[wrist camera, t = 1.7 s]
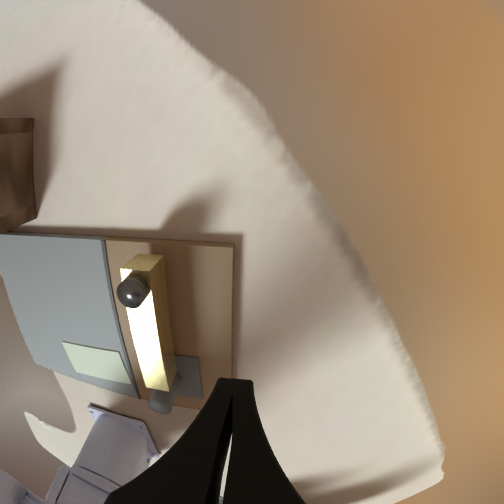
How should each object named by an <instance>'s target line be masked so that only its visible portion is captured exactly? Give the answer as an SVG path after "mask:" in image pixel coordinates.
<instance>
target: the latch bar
mask: <svg viewBox="0 0 504 504" xmlns="http://www.w3.org/2000/svg"><path fill="white" fill-rule="evenodd" d="M120 270H121V277H122V282H121V283H120V284H119V285H118V287H117V290H116V294H117V297H118V299H119V301H120V302H121V303H122V304H123V305H124V306H125V307H127V311H128V316H129V321H130V326H131V330H132V335H133V339H134V344H135V348H136V352H137V356H138V360H139V363H140V367H141V371H142V374H143V378H144V381H145V385H146V387H148V388H152V389H157V390H162V391H168V392H169V391H170V388H171V386H172V383H173V380H174V378H175V375H176V372H177V365H176V358H175V352H174V345H173V338H172V331H171V323H170V315H169V306H168V297H167V287H166V275H165V263H164V255H154V254H141V253H137V254H136V255H135V256H134V257H133V258H132V259H131V260H129V261H128V262H127V263H126V264H125V265H124V266H123V267H122V268H120Z"/></svg>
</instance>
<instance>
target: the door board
mask: <svg viewBox="0 0 504 504" xmlns="http://www.w3.org/2000/svg"><path fill="white" fill-rule="evenodd" d="M137 253H141V254H154V255H164V263H165V275H166V287H167V297H168V306H169V315H170V323H171V331H172V338H173V345H174V352H175V358H176V365H177V372H176V375H175V378H174V380H173V383H172V386H171V388H170V391H169V392H168V391H162V390H157V389H152V388H148V387H146V385H145V381H144V378H143V374H142V371H141V367H140V363H139V360H138V356H137V352H136V348H135V344H134V339H133V335H132V330H131V326H130V321H129V316H128V311H127V307H125V306H124V305H123V304H122V303H121V302H120V301H119V299H118V297H117V294H116V290H117V287H118V285H119V284H120V283H121V282H122V277H121V270H120V268H122V267H123V266H124V265H125V264H126V263H127V262H128V261H129V260H131V259H132V258H133V257H134V256H135V255H136V254H137ZM0 269H1V273H2V277H3V280H4V283H5V287H6V290H7V293H8V297H9V300H10V303H11V306H12V309H13V312H14V314H15V317H16V320H17V323H18V325H19V328H20V330H21V332H22V335H23V337H24V340H25V342H26V345H27V347H28V349H29V351H30V353H31V356H32V357H33V360H34V362H35V363H36V364H38V365H41V366H43V367H45V368H48V369H50V370H53V371H55V372H58V373H60V374H63V375H65V376H68V377H71V378H73V379H76V380H79V381H82V382H85V383H88V384H91V385H94V386H97V387H101V388H104V389H107V390H111V391H114V392H118V393H121V394H125V395H129V396H133V397H137V398H138V399H146V400H149V402H148V405H149V407H150V408H151V409H152V410H154V411H156V412H158V413H161V414H168V413H170V412H171V409H172V406H173V405H175V406H181V407H187V408H194V409H200V410H201V409H202V408H203V406H204V405H205V403H206V401H207V400H208V398H209V396H210V394H211V392H212V391H213V389H214V386H215V384H216V382H217V379H218V378H220V377H221V378H231V379H232V327H233V274H234V244H233V243H217V242H199V241H182V240H164V239H146V238H127V237H107V236H87V235H66V234H44V233H21V232H4V233H2V234H0Z"/></svg>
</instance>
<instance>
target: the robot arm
mask: <svg viewBox="0 0 504 504" xmlns="http://www.w3.org/2000/svg"><path fill="white" fill-rule="evenodd" d="M87 409H88V410H89V412H90V414H91V416H92V417H93V419H94V421H95V424H94V426H93V427H92V429H91V431H90V433H89V435H88V437H87V439H86V441H85V443H84V445H83V447H82V449H81V451H80V453H79V455H78V457H77V459H76V461H75V463H74V465H73V466H72V467H71V469H70V467H69V466H67V465H65V466H60V468H59V470H58V472H57V474H56V476H55V478H54V480H53V482H52V484H51V486H50V489H49V491H48V493H47V495H46V500H45V501H44V500H42V499H41V498H39V497H38V496H36V495H35V494H33V493H32V492H30V491H29V490H27V488H26V487H24V486H23V485H22V484H20V483H19V482H18V481H16V480H15V479H14V478H12V477H11V476H10V475H9V474H7V473H6V472H5V471H4V470H3V469H1V468H0V504H219V498H220V489H221V481H222V475H223V470H224V465H225V461H226V457H227V453H228V448H229V444H230V439H231V435H232V445H231V452H230V458H229V465H228V472H227V478H226V485H225V491H224V497H223V503H222V504H306V503H305V502H304V501H303V499H302V498H301V497H300V495H299V494H298V493H297V491H296V490H295V489H294V487H293V486H292V484H291V483H290V481H289V480H288V478H287V477H286V475H285V473H284V472H283V470H282V468H281V466H280V465H279V463H278V461H277V459H276V457H275V455H274V453H273V451H272V449H271V447H270V444H269V442H268V440H267V437H266V435H265V432H264V429H263V427H262V424H261V420H260V417H259V414H258V410H257V406H256V402H255V397H254V389H253V381H251V380H243V379H231V378H221V377H220V378H218V379H217V382H216V384H215V386H214V389H213V391H212V392H211V394H210V396H209V398H208V400H207V401H206V403H205V405H204V406H203V408H202V409H201V411H200V412H199V414H198V415H197V417H196V418H195V420H194V421H193V422H192V424H191V425H190V426H189V428H188V429H187V430H186V431H185V433H184V434H183V435H182V436H181V437H180V439H179V440H178V441H177V442H176V443H175V444H174V445H173V446H172V447H171V448H170V449H169V450H168V451H167V452H166V453H165V454H164V455H163V456H162V457H161V458H160V459H159V460H157V461H156V462H155V463H154V464H153V465H152V466H150V467H149V464H150V461H151V458H152V457H155V458H159V454H158V452H157V450H156V448H155V445H154V443H153V441H152V439H151V437H150V434H149V432H148V430H147V427H146V425H145V423H144V422H142V421H140V420H136V419H132V418H128V417H125V416H121V415H118V414H115V413H111V412H108V411H105V410H102V409H99V408H96V407H93V406H90V405H88V407H87ZM148 467H149V468H148ZM69 469H70V470H69ZM55 501H56V502H55Z"/></svg>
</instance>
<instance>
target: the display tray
mask: <svg viewBox="0 0 504 504" xmlns="http://www.w3.org/2000/svg"><path fill="white" fill-rule="evenodd" d="M33 122H34V118H5V119H0V234H2V233H4V232H7V231H9V230H11V229H13V228H15V227H18V226H20V225H22V224H24V223H27V222H29V221H31V220H34V219H36V218H37V217H36V208H35V198H34V185H33Z"/></svg>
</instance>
